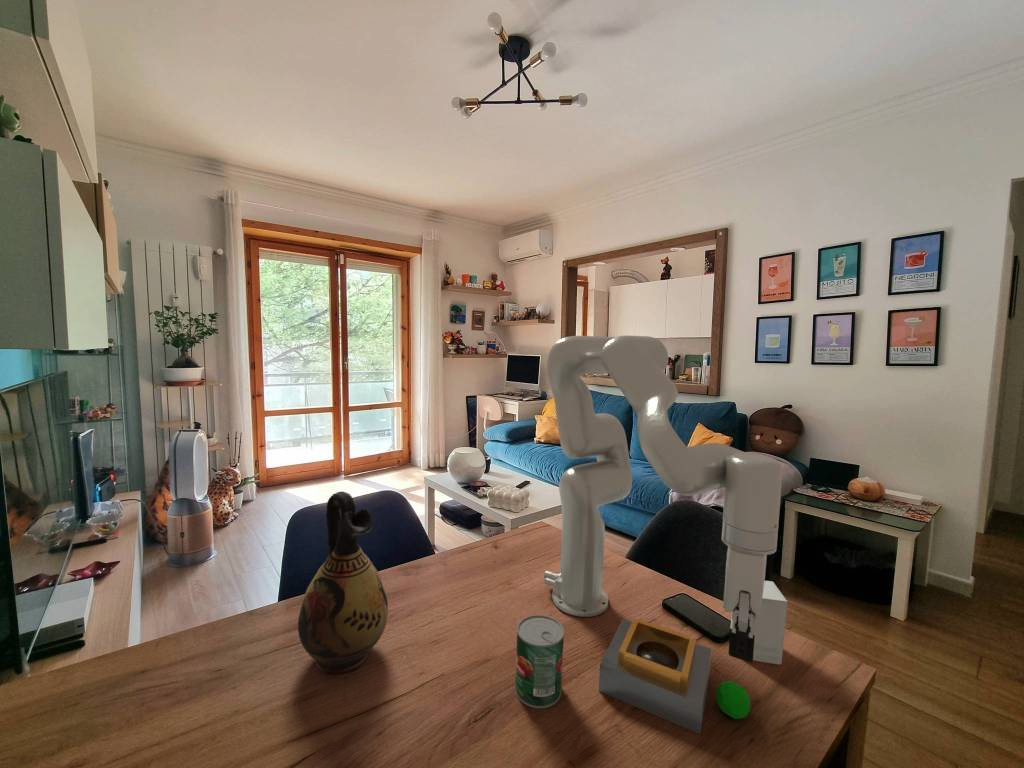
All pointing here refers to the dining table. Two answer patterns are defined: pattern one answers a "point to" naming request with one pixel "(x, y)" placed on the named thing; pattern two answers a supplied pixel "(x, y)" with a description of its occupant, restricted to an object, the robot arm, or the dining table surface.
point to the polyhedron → (733, 699)
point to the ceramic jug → (343, 595)
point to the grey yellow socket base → (657, 672)
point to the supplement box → (770, 626)
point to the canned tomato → (539, 661)
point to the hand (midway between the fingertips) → (741, 639)
